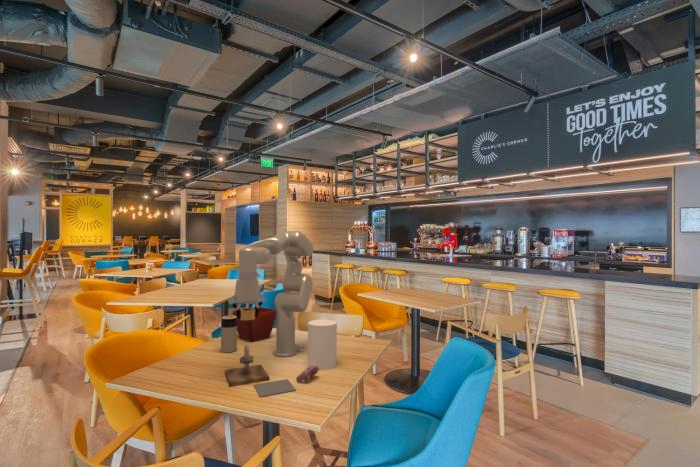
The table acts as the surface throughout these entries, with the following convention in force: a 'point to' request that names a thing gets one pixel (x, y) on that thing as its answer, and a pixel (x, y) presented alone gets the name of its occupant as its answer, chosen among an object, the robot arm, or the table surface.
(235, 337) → the travel mug
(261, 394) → the rubber mat
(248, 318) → the wooden ring
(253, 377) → the post stand
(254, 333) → the plant pot
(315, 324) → the canister
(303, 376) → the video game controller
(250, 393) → the table surface
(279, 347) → the robot arm
